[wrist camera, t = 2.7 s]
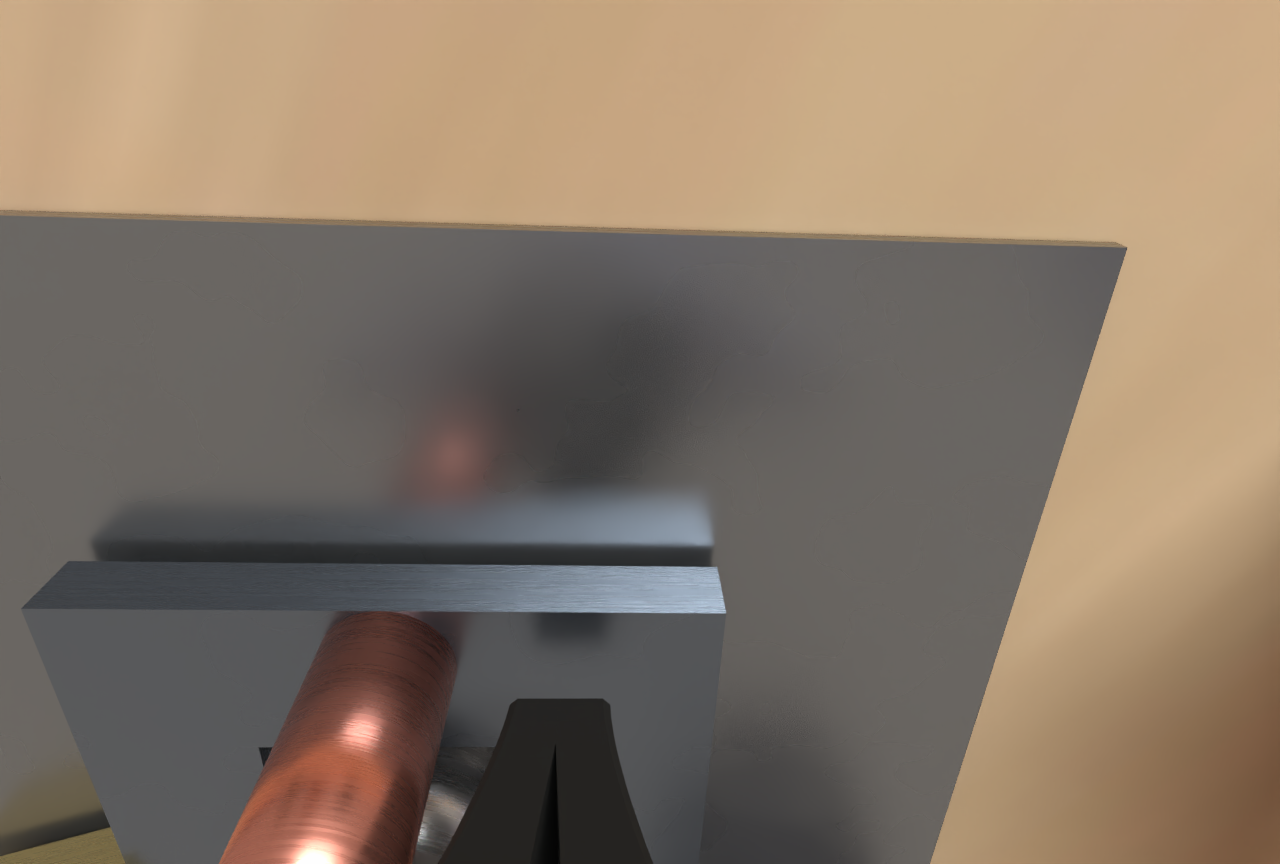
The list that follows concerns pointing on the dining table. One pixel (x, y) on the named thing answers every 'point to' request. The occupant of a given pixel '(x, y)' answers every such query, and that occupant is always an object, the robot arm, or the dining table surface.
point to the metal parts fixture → (358, 696)
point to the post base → (565, 463)
